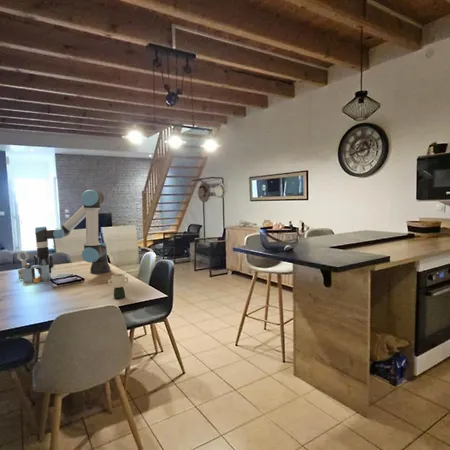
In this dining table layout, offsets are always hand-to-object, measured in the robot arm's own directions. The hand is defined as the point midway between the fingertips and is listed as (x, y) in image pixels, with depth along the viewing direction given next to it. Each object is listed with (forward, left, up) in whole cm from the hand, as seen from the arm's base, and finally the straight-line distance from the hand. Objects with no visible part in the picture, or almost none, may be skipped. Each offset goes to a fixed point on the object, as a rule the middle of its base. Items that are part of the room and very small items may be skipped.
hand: (45, 277), depth 245 cm
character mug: (-74, +65, -1) cm, 98 cm away
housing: (+3, +9, 0) cm, 9 cm away
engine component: (+19, -8, -1) cm, 21 cm away
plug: (0, +6, 0) cm, 6 cm away
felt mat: (-12, -1, 0) cm, 12 cm away
